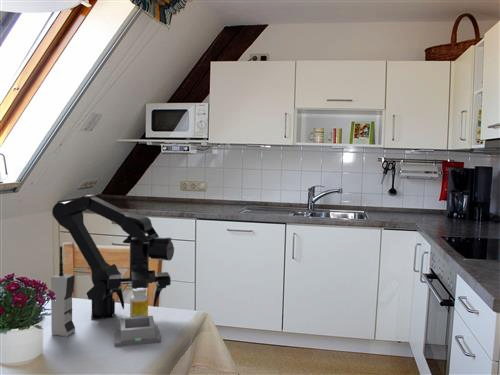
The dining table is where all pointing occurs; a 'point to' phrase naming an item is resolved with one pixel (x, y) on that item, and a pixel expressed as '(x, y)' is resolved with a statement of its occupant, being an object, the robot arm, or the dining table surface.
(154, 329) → the charging dock
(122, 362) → the dining table surface
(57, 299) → the vintage mobile phone
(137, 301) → the supplement bottle
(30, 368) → the dining table surface
